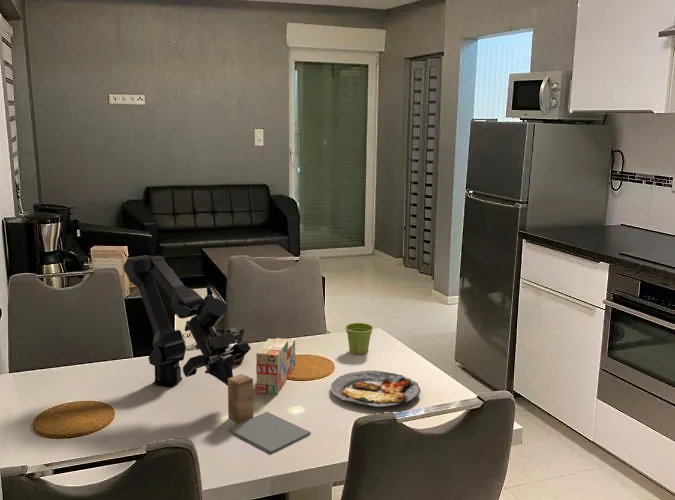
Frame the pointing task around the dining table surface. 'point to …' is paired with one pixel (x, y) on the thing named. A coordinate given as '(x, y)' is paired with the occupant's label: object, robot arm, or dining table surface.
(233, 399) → the walnut block
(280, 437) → the mat
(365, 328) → the plant pot
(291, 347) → the stack of blocks
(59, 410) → the dining table surface
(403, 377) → the food plate
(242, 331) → the cocoa
